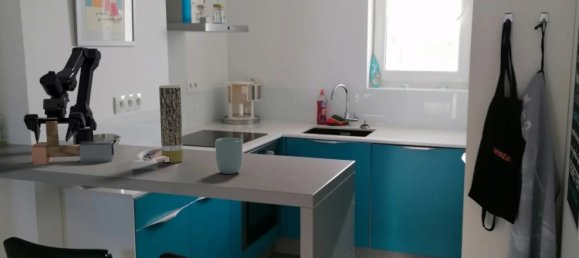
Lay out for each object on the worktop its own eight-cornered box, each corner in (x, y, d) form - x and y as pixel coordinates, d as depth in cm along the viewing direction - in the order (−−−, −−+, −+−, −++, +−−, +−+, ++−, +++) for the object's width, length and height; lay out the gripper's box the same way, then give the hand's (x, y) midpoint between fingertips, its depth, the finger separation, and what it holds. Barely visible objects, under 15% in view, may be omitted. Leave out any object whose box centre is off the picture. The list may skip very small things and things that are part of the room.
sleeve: (114, 158, 198) (113, 140, 197) (111, 161, 193) (110, 142, 192) (83, 159, 196) (82, 141, 196) (80, 162, 191) (79, 143, 190)
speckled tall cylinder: (185, 159, 194) (183, 84, 191) (179, 163, 188) (177, 86, 184) (165, 159, 195) (162, 85, 192) (159, 163, 188) (156, 86, 185)
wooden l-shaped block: (92, 154, 196) (90, 119, 194) (90, 156, 192) (88, 121, 191) (42, 155, 194) (40, 121, 192) (39, 157, 190) (37, 122, 189)
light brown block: (52, 160, 196) (50, 141, 195) (46, 164, 189) (45, 145, 188) (38, 160, 195) (37, 142, 195) (32, 164, 189) (31, 145, 188)
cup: (229, 169, 179) (228, 136, 178) (248, 172, 174) (247, 139, 173) (211, 173, 173) (210, 140, 172) (229, 176, 168) (228, 142, 167)
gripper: (22, 89, 192) (14, 127, 183) (81, 88, 194) (76, 125, 185) (31, 111, 201) (24, 147, 192) (87, 109, 203) (82, 146, 194)
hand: (51, 141), depth 190 cm, fingers open, 9 cm apart
